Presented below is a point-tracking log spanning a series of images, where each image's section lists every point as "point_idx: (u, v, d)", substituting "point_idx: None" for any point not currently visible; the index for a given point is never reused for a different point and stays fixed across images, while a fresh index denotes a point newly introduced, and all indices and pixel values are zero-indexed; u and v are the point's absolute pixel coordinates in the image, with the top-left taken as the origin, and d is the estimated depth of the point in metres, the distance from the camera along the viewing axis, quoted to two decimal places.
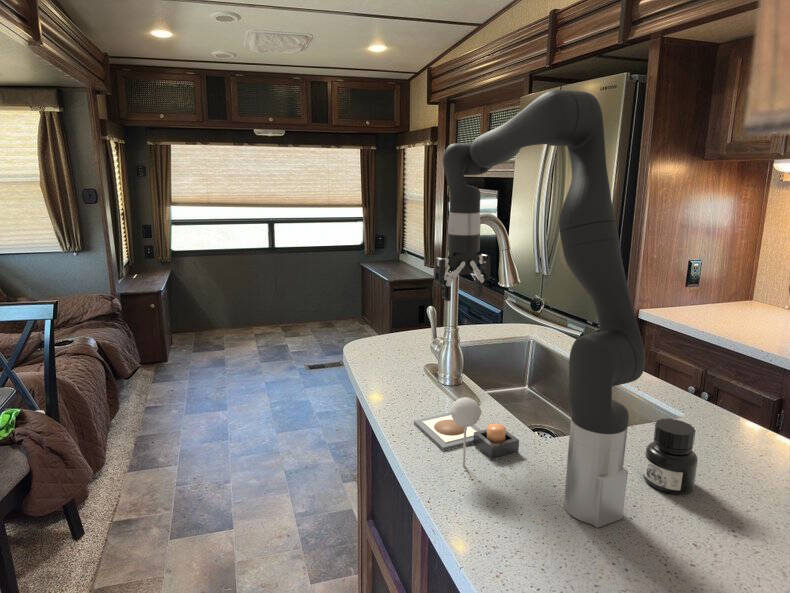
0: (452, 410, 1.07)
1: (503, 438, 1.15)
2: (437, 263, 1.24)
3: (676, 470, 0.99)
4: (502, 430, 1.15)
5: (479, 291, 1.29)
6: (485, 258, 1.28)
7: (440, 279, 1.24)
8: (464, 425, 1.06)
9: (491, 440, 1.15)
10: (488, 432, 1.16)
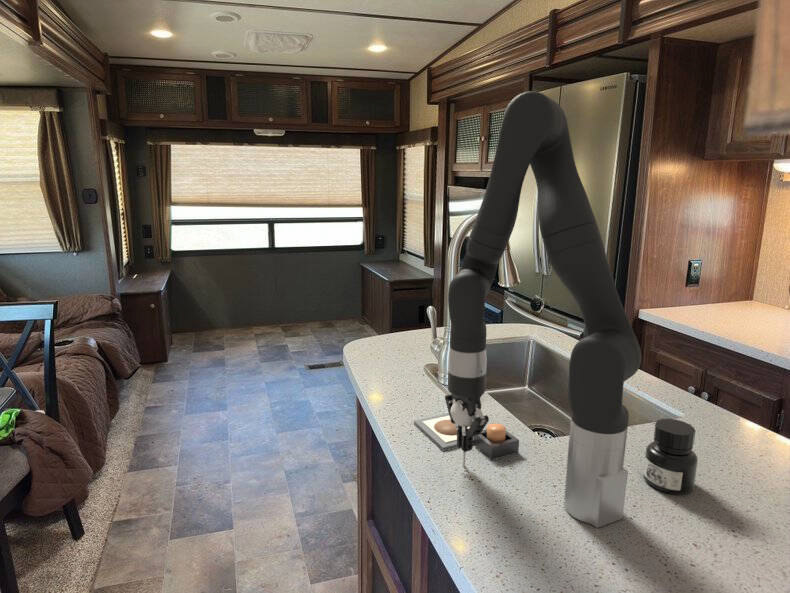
0: (452, 410, 1.07)
1: (503, 438, 1.15)
2: (480, 424, 1.02)
3: (675, 470, 0.99)
4: (502, 430, 1.15)
5: None
6: None
7: None
8: None
9: (491, 440, 1.15)
10: (488, 432, 1.16)
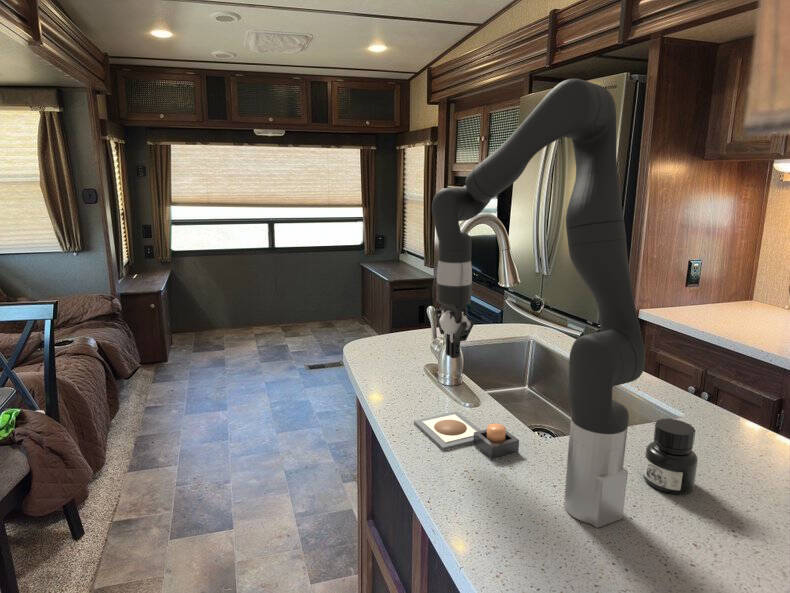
0: (441, 319, 1.18)
1: (503, 438, 1.15)
2: (466, 328, 1.13)
3: (675, 470, 0.99)
4: (502, 430, 1.15)
5: None
6: None
7: None
8: (452, 332, 1.17)
9: (491, 440, 1.15)
10: (488, 432, 1.16)
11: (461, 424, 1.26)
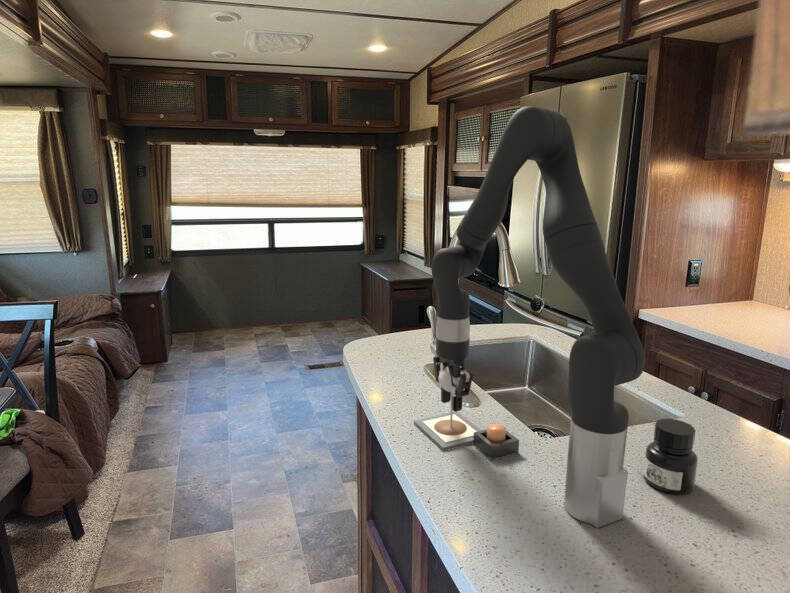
0: (440, 377, 1.21)
1: (503, 438, 1.15)
2: (466, 380, 1.15)
3: (675, 470, 0.99)
4: (502, 430, 1.15)
5: None
6: None
7: None
8: (450, 390, 1.20)
9: (491, 440, 1.15)
10: (488, 432, 1.16)
11: (461, 424, 1.26)
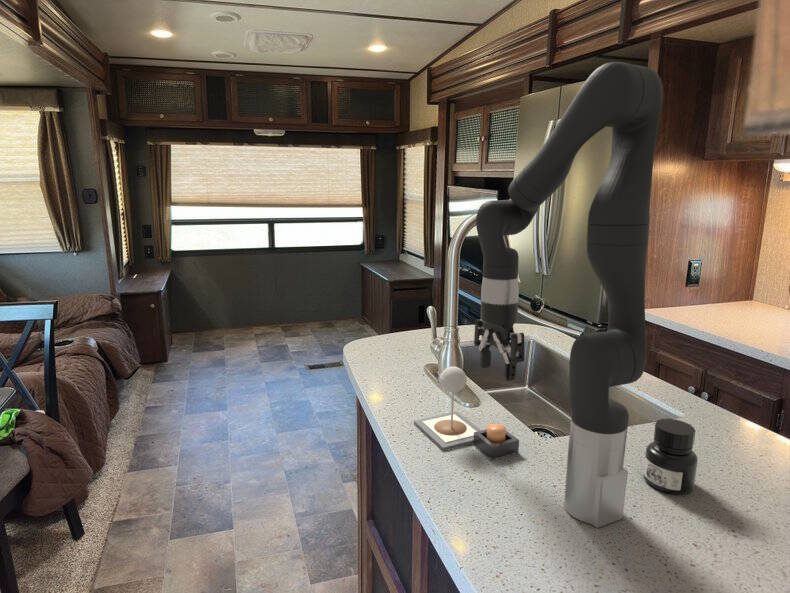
0: (441, 377, 1.20)
1: (503, 438, 1.15)
2: (518, 340, 1.05)
3: (675, 470, 0.99)
4: (502, 430, 1.15)
5: None
6: None
7: None
8: (452, 390, 1.20)
9: (491, 440, 1.15)
10: (488, 432, 1.16)
11: (461, 424, 1.26)
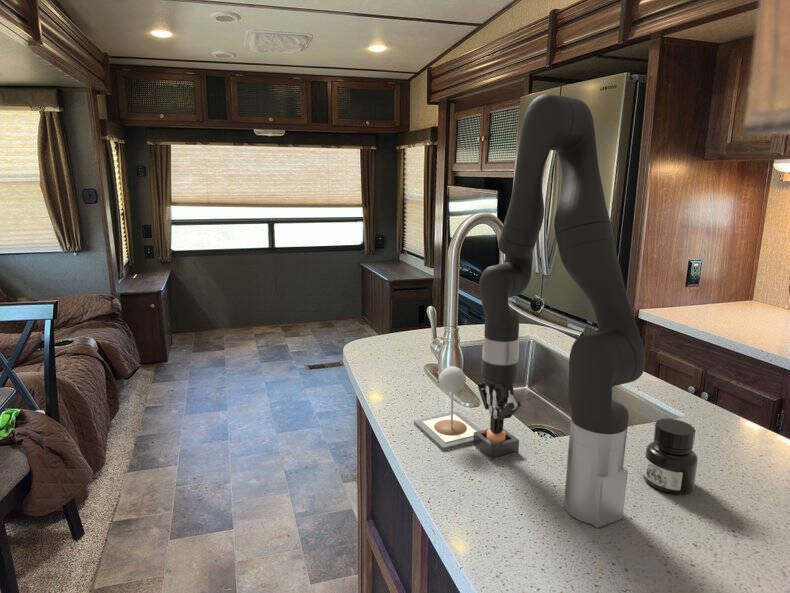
0: (440, 377, 1.20)
1: None
2: (512, 409, 1.10)
3: (675, 470, 0.99)
4: (502, 435, 1.15)
5: None
6: None
7: None
8: (451, 390, 1.20)
9: None
10: (488, 437, 1.16)
11: (461, 424, 1.26)
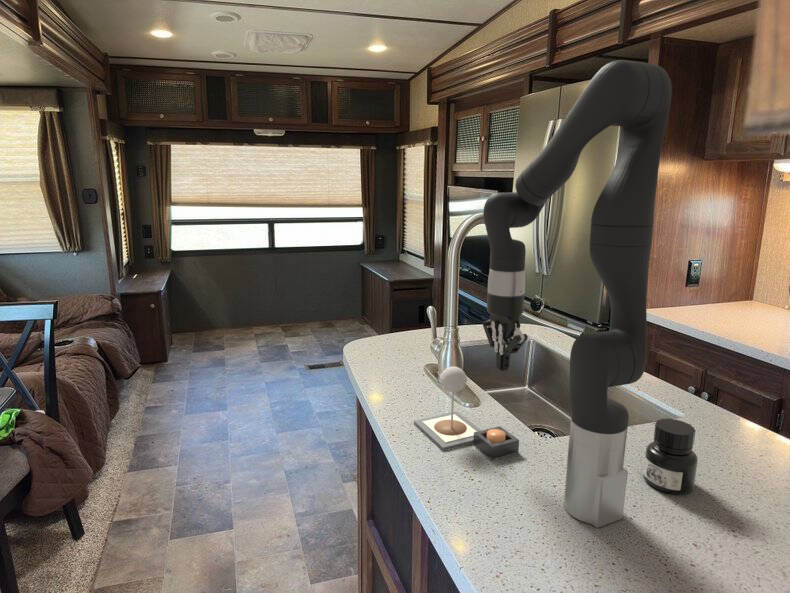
0: (441, 377, 1.20)
1: None
2: (519, 342, 1.07)
3: (675, 470, 0.99)
4: (502, 436, 1.15)
5: None
6: None
7: None
8: (452, 390, 1.20)
9: None
10: (488, 438, 1.16)
11: (461, 424, 1.26)
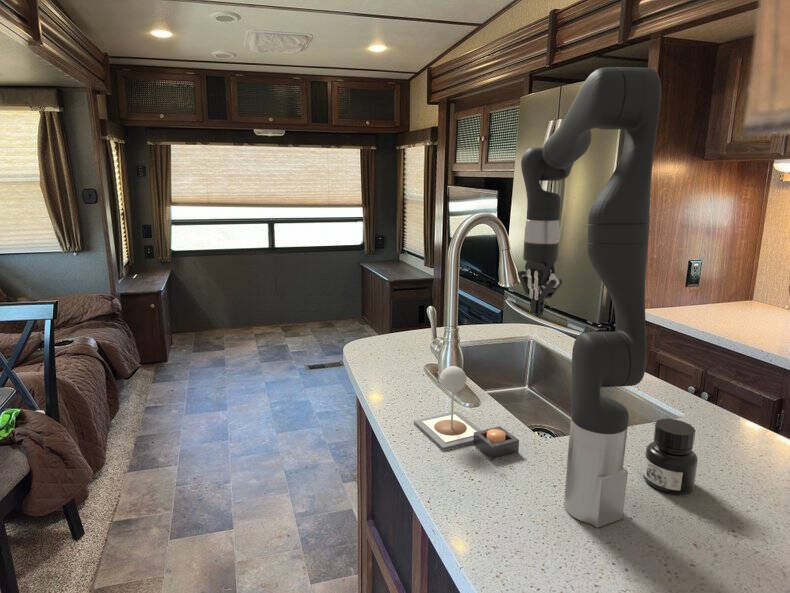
0: (441, 377, 1.21)
1: None
2: (554, 286, 1.16)
3: (675, 470, 0.99)
4: (502, 436, 1.15)
5: None
6: None
7: None
8: (452, 390, 1.20)
9: None
10: (488, 438, 1.16)
11: (461, 424, 1.26)
